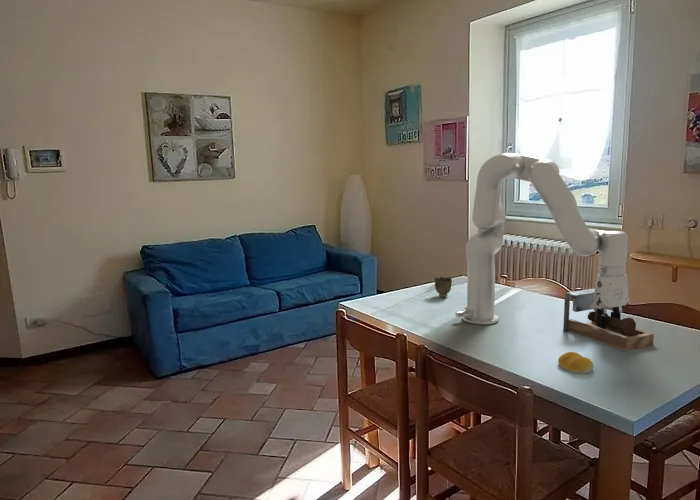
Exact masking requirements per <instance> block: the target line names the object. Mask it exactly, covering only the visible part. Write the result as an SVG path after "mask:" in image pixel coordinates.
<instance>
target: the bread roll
mask: <svg viewBox="0 0 700 500" xmlns="http://www.w3.org/2000/svg"><path fill="white" fill-rule="evenodd" d="M557 362H558V365H559V366H560V367H561V368H562V369H565V370H566V371H568V372H569V373H572V374H584V375H585V374H589V373H591V372H592V371H593V370H594V366H595V365H594V362H593V360H591V359H590V358H588V357H587V356H586V357H585V356H583V355H581V354H579V353H578V352H576V351H575V352H574V351H567V352H565V353H563V354H562V355H560V356H559V357H558V360H557Z"/></svg>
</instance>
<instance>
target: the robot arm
mask: <svg viewBox="0 0 700 500" xmlns="http://www.w3.org/2000/svg"><path fill="white" fill-rule="evenodd" d="M478 170H479V171H478V173H477V177H476V187H475V193H474V200H473V208H472V209H473V210H472V216H471V217H472V219H471V220H472V223H473V225H474V226H475V227H476V228H477V232H476V233H475V234H473V235H472V236H470V237H469V239H468V240H467V242H466V245H465V255H466V256H465V257H466V263H467V264H466V267H467V271H466V272H467V274H466V276H467V283H466V284H467V287H466V289H467V290H466V292H467V293H466V295H467V298H466V301H467V303H466V304H467V305H466V306H465V307H464V309H463V310H461V311H460V310H459V311H456V312H455V317H456V318H460V317H462V320H463V321H464V322H466V323H469V324H473V325H480V326H481V325H483V326H485V325H487V326H488V325H493V324H496V323H497V322H499V315H497V314H495V303H496V302H495V299H496V296H495V295H496V290H495V288H496V287H495V286H496V267H495V266H496V265H495V255H496V254H498V252H499V251H500V250H501V248H502V246H503V241H504V235H505V234H504V233H505V228H506V227H505V225H506V218H507V217H506V216H507V215H506V209H505V207H504V205H503V204H502V203H501V195H502V182H503V181H504V180H506V179H516V180H521V181H525V182H530V183H531V185H532V186H533V188H534V189H535V191H536V192H537V194H538V196H539V197H540V199H541V200H542V201H543V203H544V204H545V206H546V207H547V208H548V211H549V212H550V215H551V218H552V219H553V220H554V222H555V225H556V227H557V228H558V230H559V232H560V233H561V235H562V236H563V238H564V240H565V241H566V243H567V244H568V246H569V248H570V249H571V250H572V251H573V252H574V253H575V254H577V255H579V256H581V257H588V256H591V255H593V254H594V253H595V252H599V257H598V259H599V260H598V269H597V273H598V274H597V276H596V280H595V285H594V289H595V291H594V301H593V303H592V304H591V308H592V309H591V310H593V312H596V314H597V327H600V328H603V329H606V324H607V317H606V316H605V315H606V313H607V311H608V309H612V311H610V316H611V317H614V318H618V319H621V316H622V314H623V310H624V308H625V307H626V305H628V303H629V281H628V275H627V274H626V268H627V257H628V241H629V236H628V234H627V233H626V232H624V231H622V230H599V229H596V228H589V227H588V226H587V224H586V222H585V220H584V219H583V217H582V216H581V213H580V212H579V208H578V204H577V199H576V198H575V195H574V194H573V193H572V191H571V189H570V188H569V186H568V185H567V184H566V182H565V181H564V179H563V177H562V176H561V175H560V168H559V167H558V165H557V163H556V162H555V161H552V160H550V159H547V158H546V159H544V158H538V157H535V156H534V157H533V156H530V155H529V156H528V155H525V154H520V153H517V152H516V153H514V152H504V153H499V154H497V155H493V156H492V157H490V158H489V159H487V160H486V161H484V163H483V164H482V165H481V167H480V169H478ZM601 308H603V311H602V310H601Z"/></svg>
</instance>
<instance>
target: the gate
mask: <svg viewBox="0 0 700 500" xmlns="http://www.w3.org/2000/svg"><path fill="white" fill-rule="evenodd" d="M594 291H595V287H594V288H589V289H581V290H576V291H569V292H567V293H570V299H572V312H575V313H577V312H584V311H590V310H593V309H592V308H591V304H592V303H593V301H594Z"/></svg>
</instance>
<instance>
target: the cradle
mask: <svg viewBox="0 0 700 500" xmlns="http://www.w3.org/2000/svg"><path fill="white" fill-rule="evenodd" d="M570 304H571V298H570V293H568V292H564V306H563V324H562V325H563V326H562V327H563V328H562V329H563V332H564V333H567V332H569V331H570V332H573V333H575V334H578V335H580V336H583V337H586V338H588V339H591V340H594V341H596V342H598V343H601V344H605V345H606V346H609V347H611V348H612V347H613V348H614V349H617V350H620V351H623V352H628V351H632V350H638V349H641V348H646V347H650V346H654V340H655V339H654V336H655V333H652V332H650V331H646V330H644V329H640V328H638V327H636V329H635V331H634V333H633V334H632V335H629V336H624V335H622V334H621V331H620V330H619V329H616V328H613V327H609V326H606V329H603V328H600V327H597V325H596V323H595V322H593V321H590V322H586V323H584V322H580V321H578V320H576V319H573V318H570ZM601 310H602V311H603V308H601Z"/></svg>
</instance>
